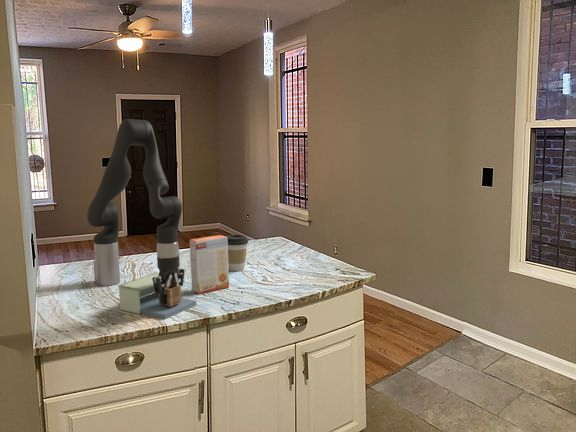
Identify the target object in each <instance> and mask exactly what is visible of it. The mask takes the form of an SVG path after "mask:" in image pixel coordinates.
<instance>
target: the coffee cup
mask: <svg viewBox="0 0 576 432" xmlns="http://www.w3.org/2000/svg"><path fill="white" fill-rule="evenodd" d="M226 237H227V239H228V268H229V271H230V272H241V271H244V270H245V268H246V267H245V266H246V258H247V248H248V244H249V239H248V238H247V236H246V235H243V234H231V235H227V236H226Z"/></svg>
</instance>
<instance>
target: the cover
mask: <svg viewBox="0 0 576 432" xmlns="http://www.w3.org/2000/svg"><path fill="white" fill-rule="evenodd" d="M157 276H159V272H154V273H150V274H147V275H144V276H142V277H139V278H136V279H132V280H129V281H128V282H125V283H120V284H118V291H119V292H118V295H119V309H120V310H121V311H125V312H128V313H129V312H130V313H134V314H142V313H141V312H140V298H142V297H144V296H147V295H149V294H152V293H155V289H154V284H153V280H152V278H153V277H157ZM163 284H164V285H166V284H165V283H163ZM170 284H171V283H170Z"/></svg>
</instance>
